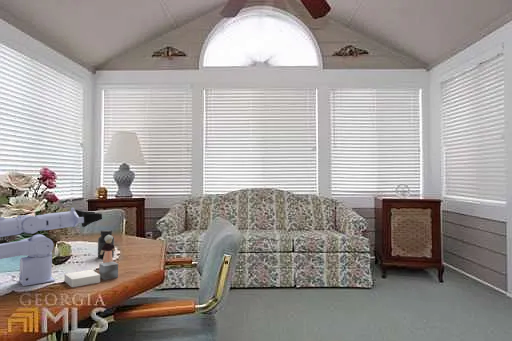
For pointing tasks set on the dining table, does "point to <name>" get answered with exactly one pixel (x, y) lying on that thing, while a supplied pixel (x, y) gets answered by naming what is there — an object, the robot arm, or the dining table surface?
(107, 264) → the slate block
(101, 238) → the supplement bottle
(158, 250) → the dining table surface
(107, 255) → the grandmother figurine
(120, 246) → the dining table surface
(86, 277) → the cream base block
